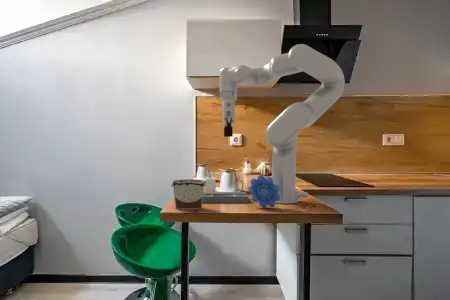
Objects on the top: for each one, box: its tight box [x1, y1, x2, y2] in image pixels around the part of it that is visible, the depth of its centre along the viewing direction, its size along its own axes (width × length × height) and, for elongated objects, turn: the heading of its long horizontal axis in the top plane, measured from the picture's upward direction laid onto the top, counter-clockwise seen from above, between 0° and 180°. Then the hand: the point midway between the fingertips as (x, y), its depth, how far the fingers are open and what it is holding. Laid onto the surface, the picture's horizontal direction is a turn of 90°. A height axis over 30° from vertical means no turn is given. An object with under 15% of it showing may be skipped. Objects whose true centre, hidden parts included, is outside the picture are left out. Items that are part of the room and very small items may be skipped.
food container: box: [171, 178, 206, 210], centre depth 130 cm, size 12×6×10 cm, turn 84°
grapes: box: [247, 174, 280, 209], centre depth 129 cm, size 12×7×12 cm, turn 86°
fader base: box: [202, 191, 249, 204], centre depth 145 cm, size 19×12×3 cm, turn 92°
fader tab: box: [205, 177, 217, 195], centre depth 145 cm, size 4×3×7 cm
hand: (228, 136), depth 154 cm, fingers open, 9 cm apart
